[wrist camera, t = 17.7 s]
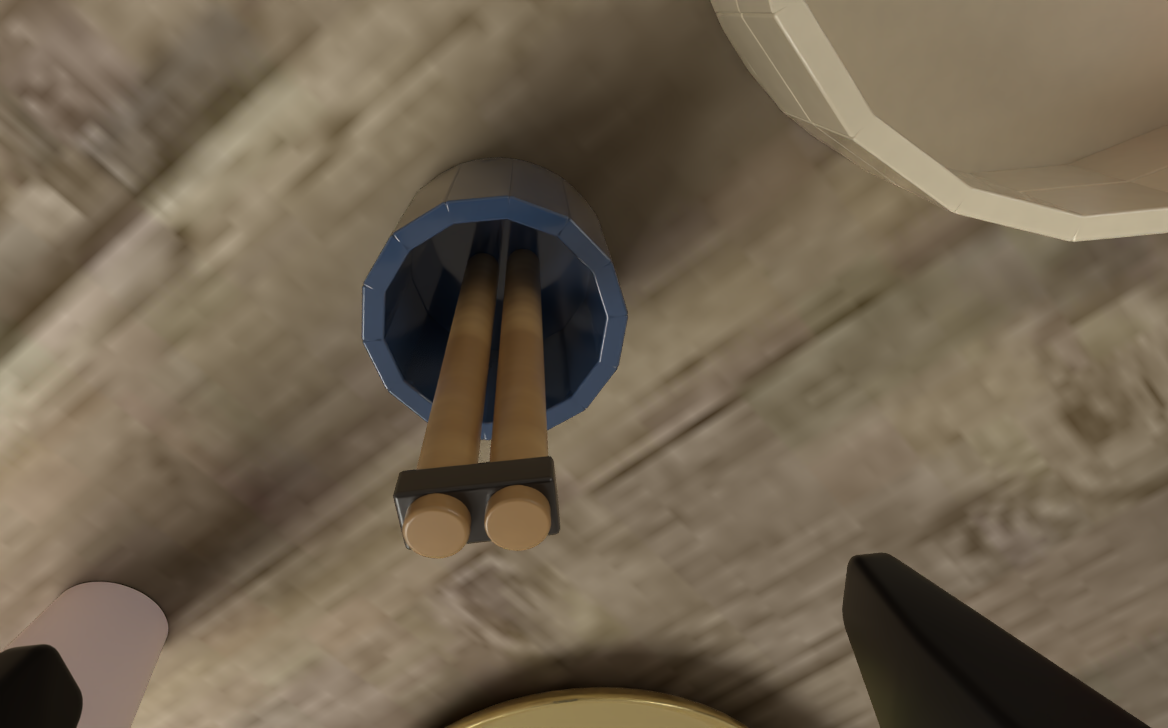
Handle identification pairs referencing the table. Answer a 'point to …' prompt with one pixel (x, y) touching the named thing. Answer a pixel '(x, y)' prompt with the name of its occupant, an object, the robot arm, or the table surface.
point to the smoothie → (103, 647)
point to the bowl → (981, 101)
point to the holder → (498, 227)
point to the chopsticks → (452, 439)
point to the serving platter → (598, 711)
